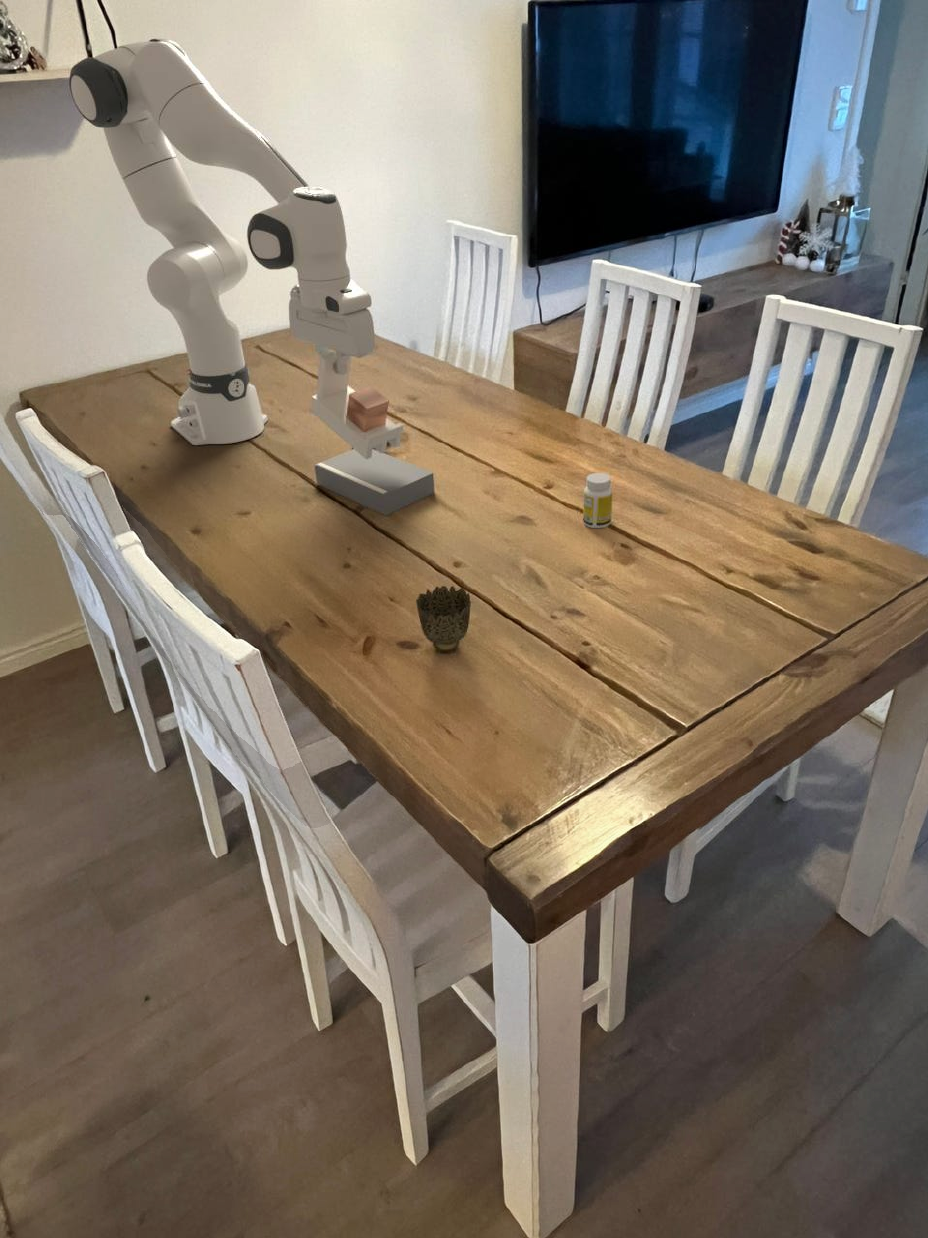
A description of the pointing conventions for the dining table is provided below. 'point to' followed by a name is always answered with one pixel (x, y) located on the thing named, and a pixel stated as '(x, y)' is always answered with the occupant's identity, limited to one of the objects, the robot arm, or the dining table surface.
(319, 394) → the white stand
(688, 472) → the dining table surface
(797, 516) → the dining table surface
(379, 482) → the block
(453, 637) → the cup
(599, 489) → the supplement bottle
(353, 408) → the reddish brown cube
